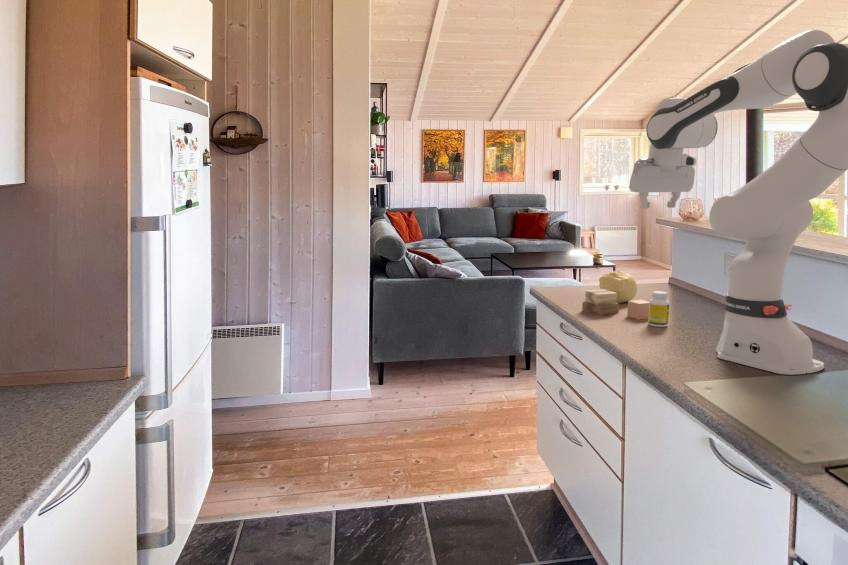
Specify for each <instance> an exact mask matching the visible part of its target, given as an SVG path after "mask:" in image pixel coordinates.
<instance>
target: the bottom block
mask: <svg viewBox="0 0 848 565" xmlns="http://www.w3.org/2000/svg"><path fill="white" fill-rule="evenodd" d="M619 309H620V303H616V304H608V305H594V304H592V303H589V302H586V301H582V308H581V310H582V312H584V313H588V314H592V315H596V314H597V316H600V315H603V316H607V315H606V314H608V315H613V314H617V313H618V312H619V311H620V310H619ZM619 313H620V312H619ZM619 313H618V314H619Z"/></svg>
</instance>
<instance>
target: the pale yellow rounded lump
mask: <svg viewBox="0 0 848 565" xmlns="http://www.w3.org/2000/svg"><path fill="white" fill-rule="evenodd" d="M598 280H599V284H598V286H599V290H602V289H605V290H608V291H612V292H615V293H617V300H616V303H619V304H621V303H628V301H632V300H633V299H634V298H635V297H636V295H637V292H638V285H637V281H636V280H635V278H634V277H633V276H632V275H631V274H629V273H627V272H624V271H620V270H613V271H610V272H607V273H605V274H604V273H603V274H602V275H601V276H600V277H599V279H598Z"/></svg>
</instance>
